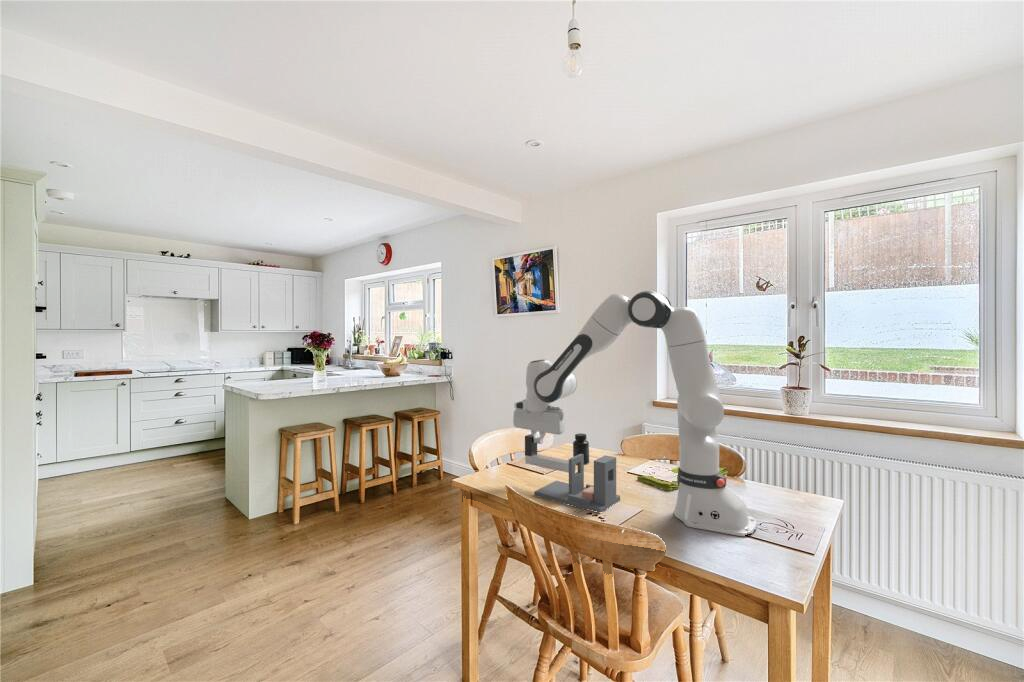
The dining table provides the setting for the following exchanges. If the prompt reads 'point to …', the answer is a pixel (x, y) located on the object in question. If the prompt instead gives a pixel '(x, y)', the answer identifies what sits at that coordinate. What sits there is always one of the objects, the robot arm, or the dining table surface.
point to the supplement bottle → (581, 447)
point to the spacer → (588, 493)
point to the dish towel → (668, 485)
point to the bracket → (574, 488)
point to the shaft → (542, 457)
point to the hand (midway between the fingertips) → (538, 443)
